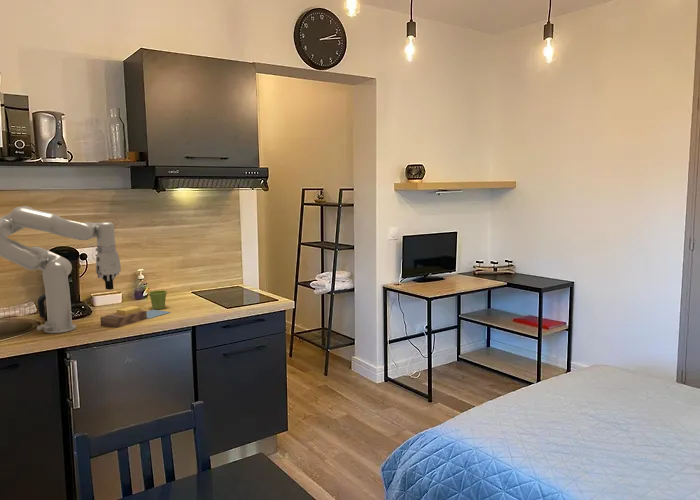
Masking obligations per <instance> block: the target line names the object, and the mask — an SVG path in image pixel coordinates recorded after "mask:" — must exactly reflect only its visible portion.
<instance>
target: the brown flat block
mask: <svg viewBox="0 0 700 500" xmlns="http://www.w3.org/2000/svg"><path fill="white" fill-rule="evenodd" d="M99 320H100V326H103V327H108V328H112V329H113V328H115V329H117V328H120V327H125V326H127V325H130V324H135V323H137V322H138V323H139V322H142V321H145V320H148V319H147V310H144V309H141V311H140V312H136V313H132V314H129V315H121V314H117V312H114V313H111V314H106V315H101V316H100V319H99Z"/></svg>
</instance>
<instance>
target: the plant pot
mask: <svg viewBox="0 0 700 500" xmlns="http://www.w3.org/2000/svg"><path fill="white" fill-rule="evenodd" d="M167 293H168V290H164V289H163V290H161V289H159V290H152V291H148V292H147V295H149V297H150V303H151V307H152V310H162V309H165V307H166V299H167V298H166V297H167Z"/></svg>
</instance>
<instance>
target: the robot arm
mask: <svg viewBox="0 0 700 500" xmlns="http://www.w3.org/2000/svg"><path fill="white" fill-rule="evenodd" d="M26 228H27V229H32V230H36V231H41V232H45V233H49V234H52V235H57V236H61V237H63V238H64V237H65V238H68V239H74V240H79V241H89V240H90V239H94V238H96V248H95V251H96V257H95V272H96V273H95V274H97V279H102V280H103V281H104V285H105V286H104V287H105V290H113V289H114V280H115V278H116V276H119V274H120V272H121V271H122V267H121V259H120V256H119V252H118V251H116V239H115V238H116V234H115V224H114V223H113V222H111V221H101V222H90V221H85V222H79V221H74V220H70V219H67V218H63V217H61V216H59V215H58V214H56V213H52V212H48V211H44V210H40V209H39V210H38V209H35V208H34V207H31V206H28V205H24V206H18V207H15V208H13V209H12V210H11V211H10V212H8V214H5V215H3V216H1V217H0V257H1V258H3V259H5V260H8V261H9V262H12V263H13V264H16V265H18V266H20V267H21V268H22V267H23V268H24V269H26V270H29V271H34V270H40V271H42V280H43V284H44V294H45V295H46V299H45V303H46V316H47V318H46V319H47V321H45V323H43V324H41V325H40V324H39V325H37V327H36V330H37V331H41V330H44V333H47V334H62V333H67V332H71V331H74V330H76V329H77V325H76V324H75V323H73V319H72V305H71V304H72V303H71V302H72V301H71V293H70V283H69V275H70V274H71V272H72V270H73V267H72V266H73V265H72V263H71V261H70V260H69V259H67V258H66V257H64V256H62V255H59V254H57V253H55V252H53V251H50V250H48V249H46V248H44V247H41V246H32V247H31V246H28V245H25V244H22V243H20V242H19V241H16V240H13V239H11V238H9V236H11V235H13V234H15V233H17V232H19V231H21V230H23V229H26Z"/></svg>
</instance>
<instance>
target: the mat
mask: <svg viewBox="0 0 700 500" xmlns="http://www.w3.org/2000/svg"><path fill="white" fill-rule="evenodd" d="M146 311H147V310H146ZM167 314H171V311H165V310H161V309H150V310H148V311H147V319H146V320H151V319H153V318H157V317H160V316H163V315H167Z"/></svg>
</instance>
